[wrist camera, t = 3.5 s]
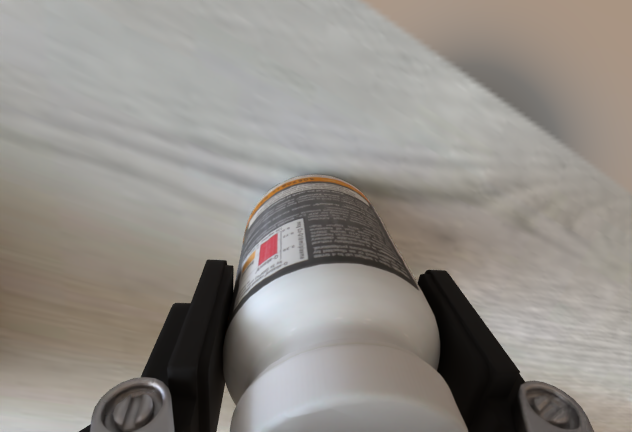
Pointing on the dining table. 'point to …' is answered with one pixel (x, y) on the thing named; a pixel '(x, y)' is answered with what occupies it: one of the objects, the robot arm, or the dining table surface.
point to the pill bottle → (330, 321)
